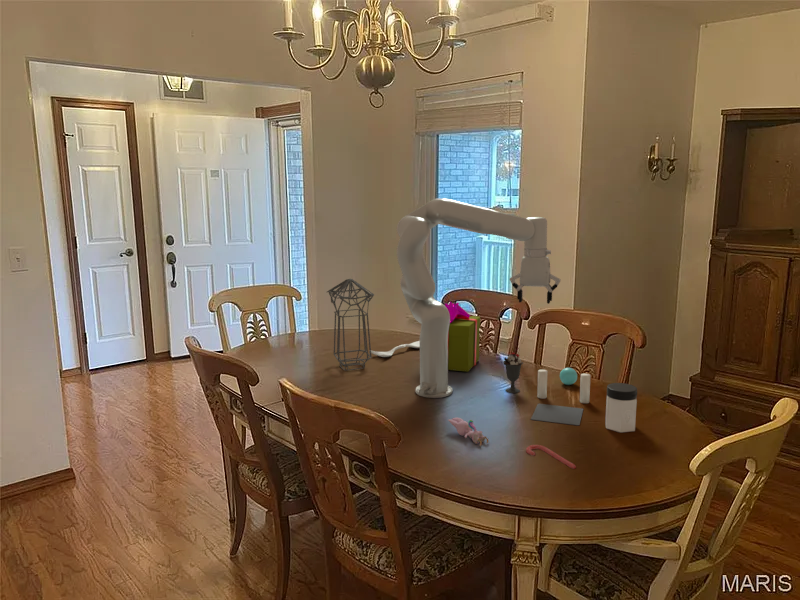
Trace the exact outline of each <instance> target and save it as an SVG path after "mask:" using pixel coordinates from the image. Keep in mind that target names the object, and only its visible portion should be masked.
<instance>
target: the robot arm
mask: <svg viewBox="0 0 800 600" xmlns="http://www.w3.org/2000/svg"><path fill="white" fill-rule="evenodd" d="M438 225H441V226H446V227H450V228H456V229H458V230H459V229H460V230H464V231H468V232H471V233H472V232H473V233H477V234H483V235H493V236H498V237H502V238H505V239H508V240H513V241H517V242H518V241H519V242H524V245H523V248H524V249H523V254H524V255H523V256H522V258H521V260H520V261H521V262H520V269H519V273H518V274H515V275H513V276H511V277H510V278H509V281H510V283H511V285H512V287H513V288H514V289H515V290H516V291H517V294H516V295H517V298H516V300H518V303H522V302H523V289H522V288H523V287H539V288H540V287H544V288H546V290H547V292H546V303H547V305H548V304H550V303H551V302H552V301H553V291H554V290H556V288H558V286H559V284H560V283H561V281H562V280H561V278H559V277H557V276H556V275H555V274H552V273H551V266H550V265H551V264H550V263H551V261H550V258H549V256H548V255H552V254H551V253H552V250H549V249H548V248H547V247H548V246H547V245H548V243H547V242H548V220H547V218H546V217H541V216H531V217H530V216H529V217H522V216H516V215H513V214H510V213H505V212H500V211H498V210H493V209H490V208H488V207H487V208H486V207H482V206H477V205H474V204H470V203H466V202H461V201H458V200H453V199H450V198H433V199H431V200H430V201H427V202H426V203H424V204H423V205H421V206H420V207H418V208H416V209H414V210H412V211H411V212H409V213H408V214H406V215H404V216H403V217H401V219H400V220H399V221H398V222H397V226H396V232H397V233H396V234H398V237H399V239H398V243H397V247H396V257H397V258H396V259H397V263H398V265H399V268H400V271H401V274H402V276H401V278H400V290H401V291H402V294H403V296H404V299H405V301H406V303H407V306H408V308H409V310H410V313H411V315H412V317H413V318H414V319H415V321H416V322H418V323H419V324H420V331H419V333H420V334H419V341H420V348H419V385H417V386H416V387H415V390H414V391H415V394H417V395H418V396H420V397H422V398H427V399H429V398H430V399H441V398H446V397H448V396H451V394H453V387H452V386H450V385H449V373H448V372H449V370H448V331H449V324H450V314H449V311H448V309H447V308H446V306H445V303H444V304H443V303H442V302H440V301H439V300H436V299H435V297H434V294H435V293H436V282H435V281H434V278H433V276H432V273H431V271H430V269H429V267H428V263H427V261H426V258H425V255H424V247H425V244H426V242H427V240H428V239H429V237H430V235H431V229H433V228H435V227H436V226H438ZM517 279H519V284H518V283H517V282H516V280H517ZM551 280H553V281H554V284H553V285H551Z"/></svg>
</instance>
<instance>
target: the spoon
mask: <svg viewBox="0 0 800 600" xmlns="http://www.w3.org/2000/svg"><path fill="white" fill-rule="evenodd" d="M406 347H408V348H414V349H420V340H418V341H413V342H411V343H405V344H400V345H398V346H395V347H393V348H392V349H390V350H388V351H377V350H371V355H372V354H373V355H374V356H377V357H382V358H389V357H392V356H393V354H394V352H396V351H397V350H399V349H402V348H406ZM368 354H370V350H368Z"/></svg>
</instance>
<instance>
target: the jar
mask: <svg viewBox="0 0 800 600" xmlns="http://www.w3.org/2000/svg"><path fill="white" fill-rule="evenodd" d="M637 398H638V388H637V387H636V386H635V385H632V384H629V383H626V382H625V383H624V382H623V383H622V382H611V383H609V384H607V387H606V401H605V405H606V406H605V423H604V424H605V428H606V429H607V430H610V431H613V432H617V433H621V434H622V433H629V432H636V421H637V420H636V416H637V404H638V403H637V402H638V400H637Z"/></svg>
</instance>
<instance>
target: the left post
mask: <svg viewBox="0 0 800 600" xmlns="http://www.w3.org/2000/svg"><path fill="white" fill-rule="evenodd" d="M536 389H537V394H536V395H537V398H538V399H540V400H541V399H547V393H548V392H547V391H548V370H547V369H538V370H537V388H536Z"/></svg>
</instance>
